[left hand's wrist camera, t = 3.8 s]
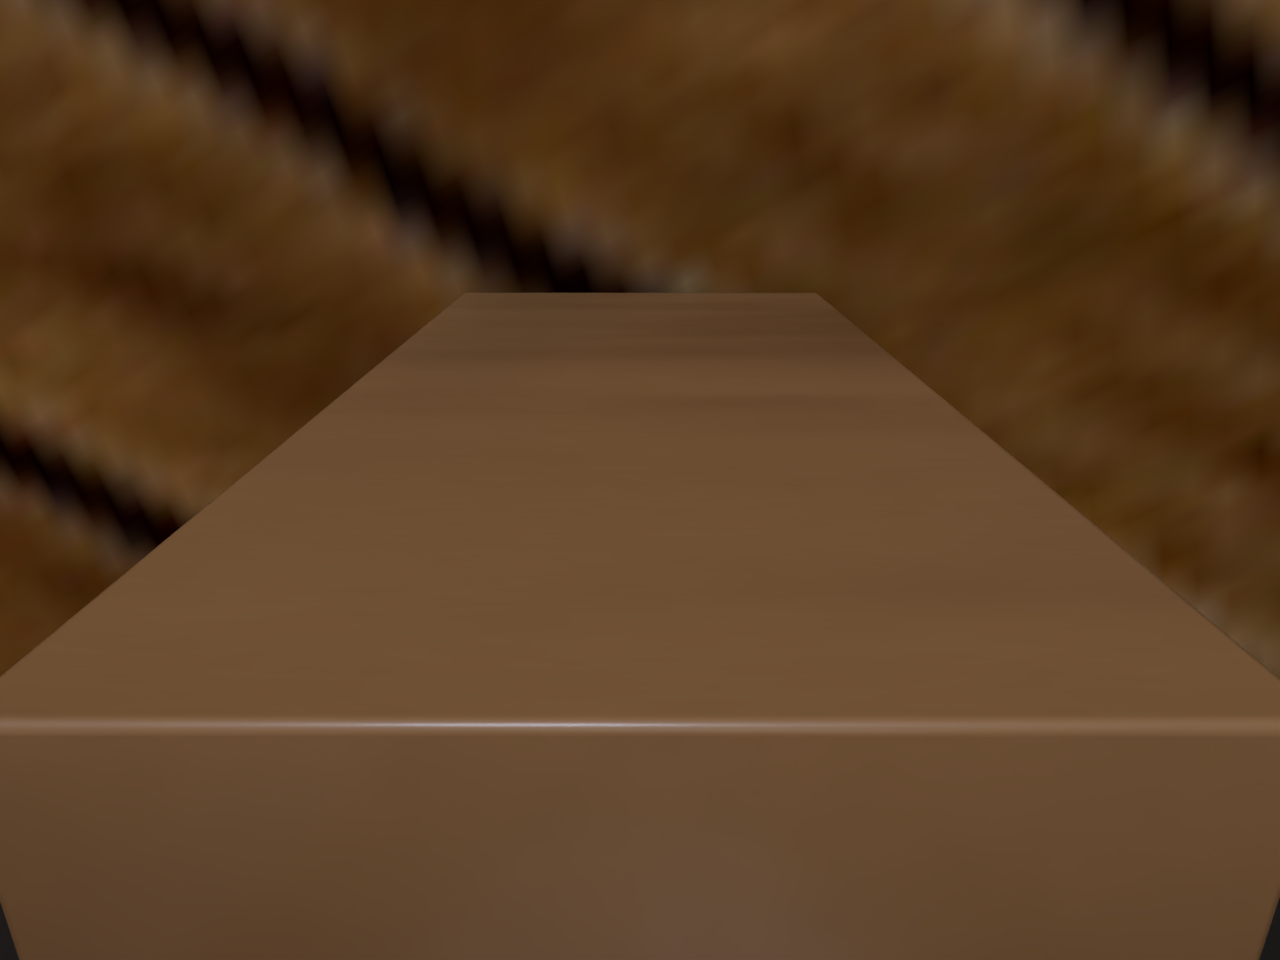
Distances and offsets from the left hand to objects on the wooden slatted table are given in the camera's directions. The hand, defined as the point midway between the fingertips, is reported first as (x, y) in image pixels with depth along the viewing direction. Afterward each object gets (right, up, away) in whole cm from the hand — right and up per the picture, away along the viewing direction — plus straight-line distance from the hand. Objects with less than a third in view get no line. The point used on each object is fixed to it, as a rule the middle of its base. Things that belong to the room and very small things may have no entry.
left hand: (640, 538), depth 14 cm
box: (0, -5, +5) cm, 7 cm away
